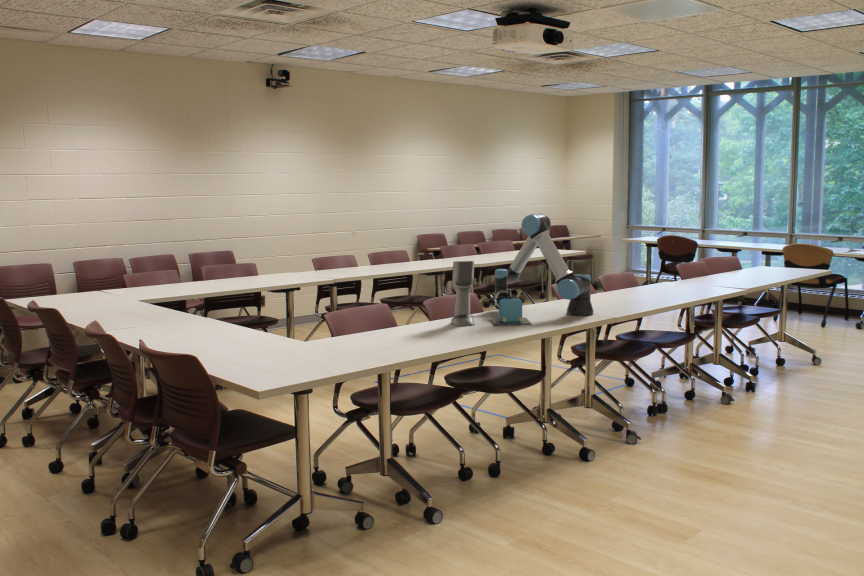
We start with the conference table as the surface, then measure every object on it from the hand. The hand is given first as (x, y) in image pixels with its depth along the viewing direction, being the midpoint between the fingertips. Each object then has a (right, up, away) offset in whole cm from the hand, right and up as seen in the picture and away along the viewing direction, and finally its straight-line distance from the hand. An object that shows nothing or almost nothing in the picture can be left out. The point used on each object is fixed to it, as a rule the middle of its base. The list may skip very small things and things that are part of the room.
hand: (508, 303), depth 406 cm
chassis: (0, -11, -7) cm, 13 cm away
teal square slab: (0, -10, -8) cm, 13 cm away
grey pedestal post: (-26, -11, -9) cm, 29 cm away
